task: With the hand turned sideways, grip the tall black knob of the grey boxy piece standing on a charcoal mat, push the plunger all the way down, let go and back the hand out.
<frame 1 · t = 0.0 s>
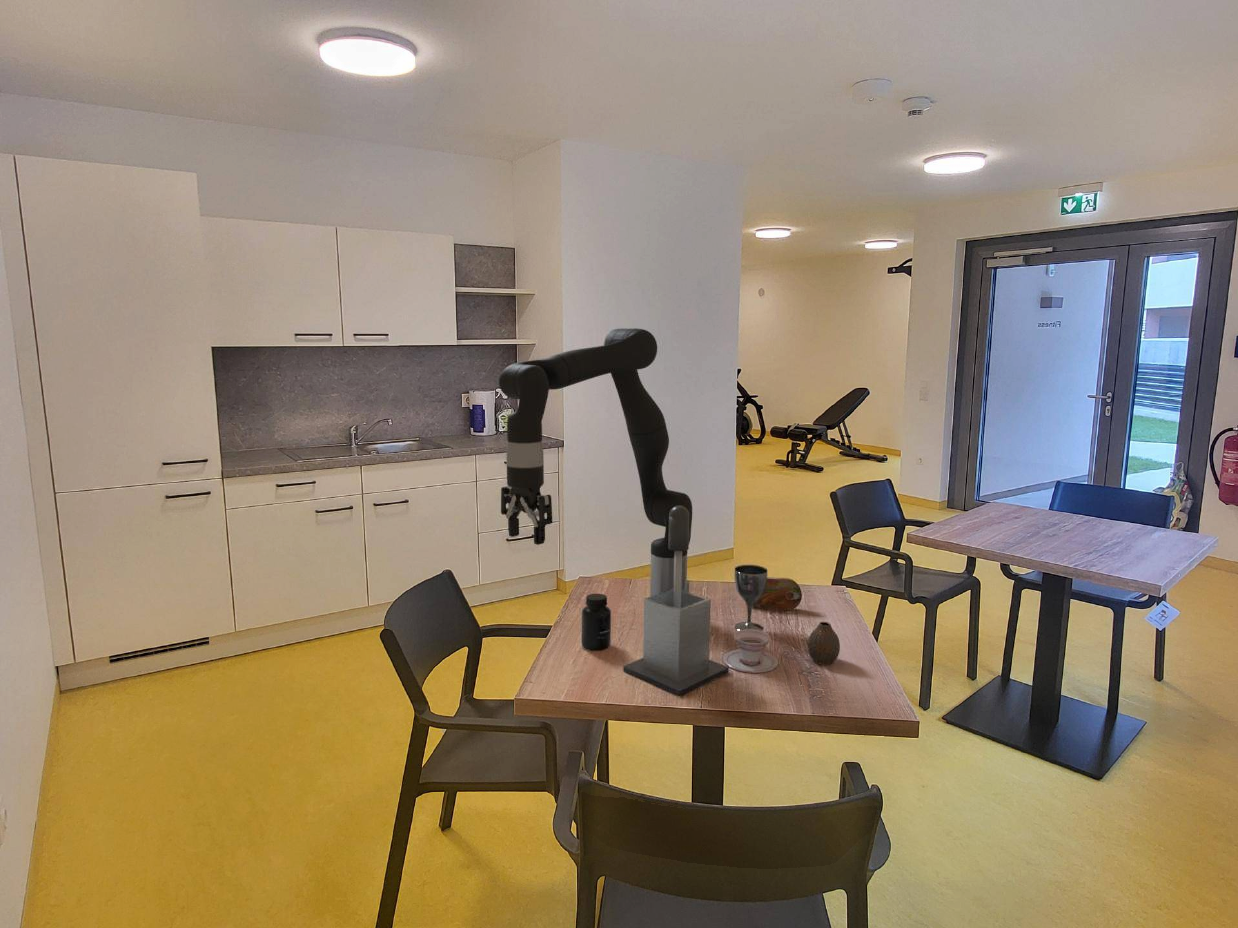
hand: (526, 539, 157), 29 cm above the table, tool pointing down, fingers open, 8 cm apart
vase: (822, 661, 168), on the table
supplement bottle: (596, 646, 176), on the table
plunger: (678, 563, 158), point 24 cm above the table, slide at 0.0 cm
grey boxy piece: (675, 671, 162), on the table
teacup: (750, 663, 168), on the table
wine glass: (748, 628, 187), on the table
tin: (772, 608, 201), on the table
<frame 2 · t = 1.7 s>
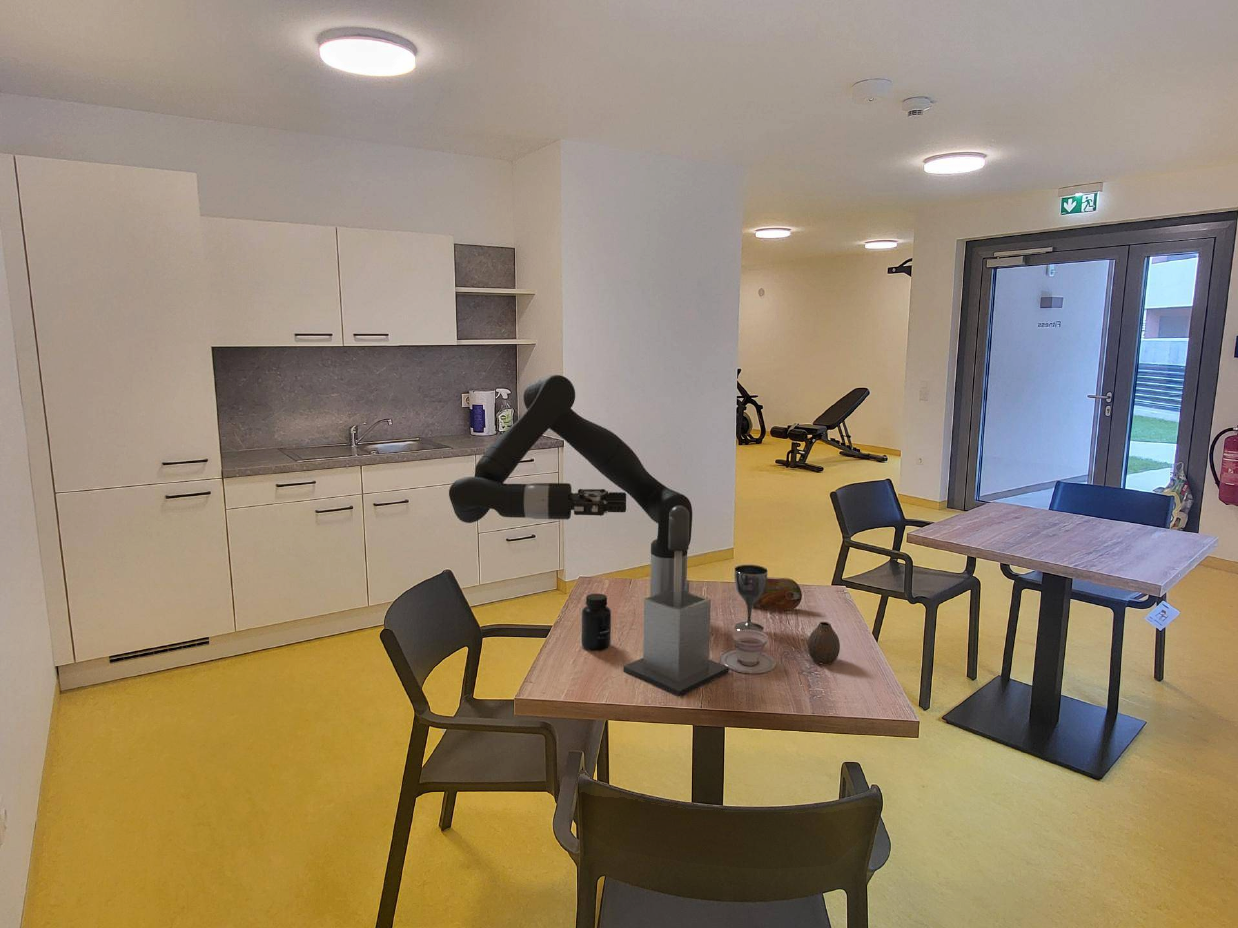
hand: (626, 502, 156), 37 cm above the table, tool horizontal, fingers open, 8 cm apart
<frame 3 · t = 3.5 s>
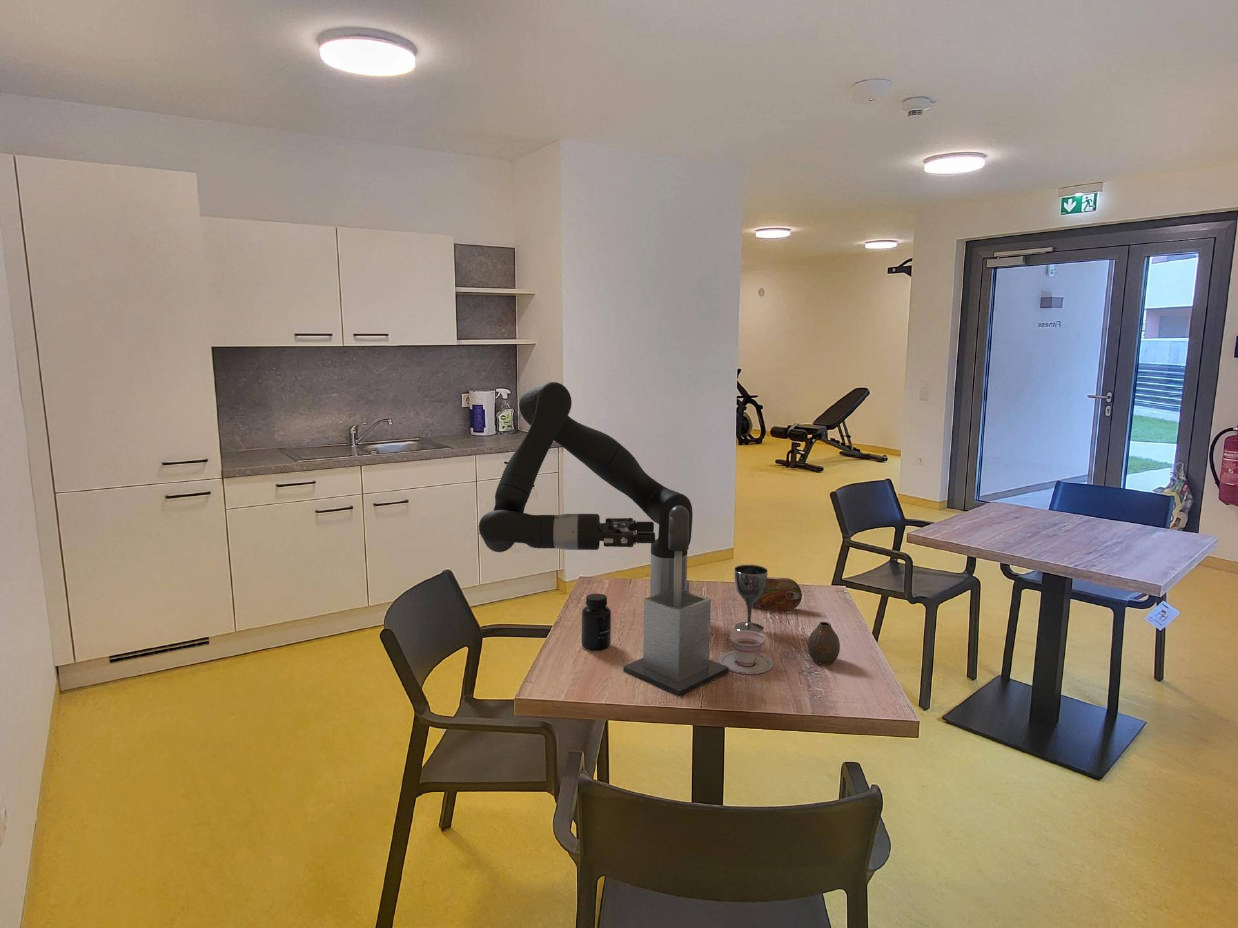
hand: (654, 532, 157), 31 cm above the table, tool horizontal, fingers open, 8 cm apart
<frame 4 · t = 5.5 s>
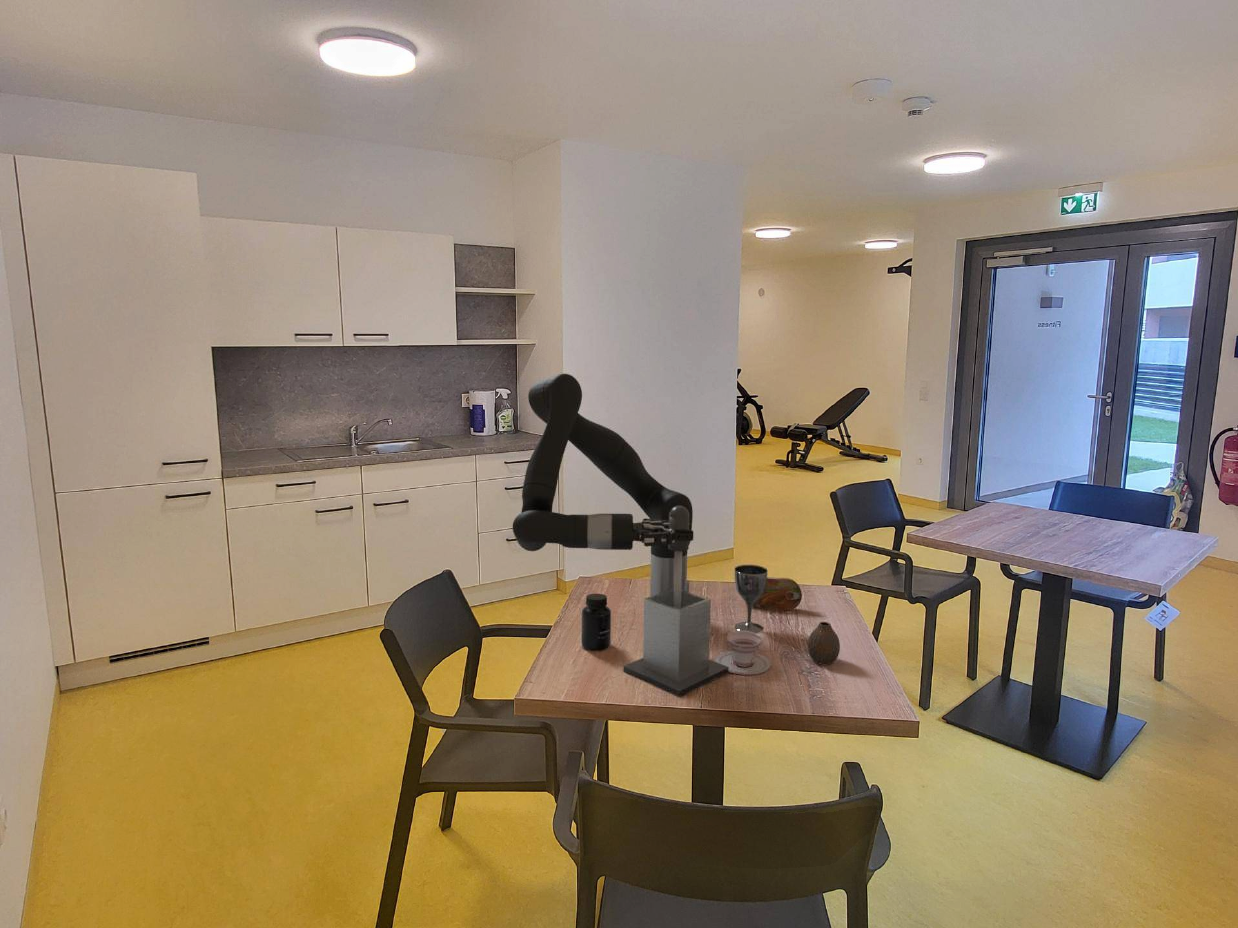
hand: (691, 532, 157), 31 cm above the table, tool horizontal, fingers closed on plunger, 4 cm apart
plunger: (678, 563, 158), point 24 cm above the table, slide at 0.0 cm, touching gripper
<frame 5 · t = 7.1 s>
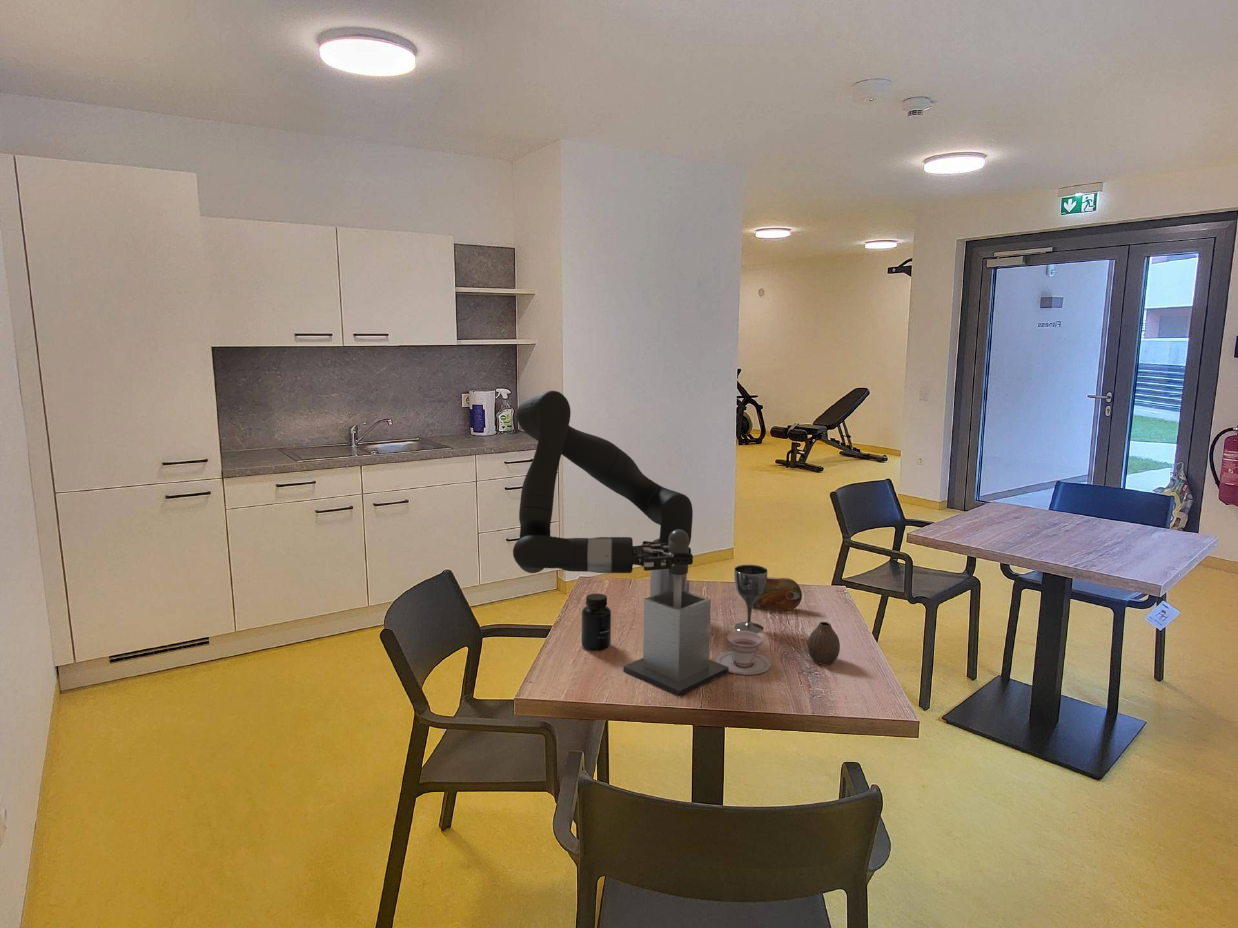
hand: (691, 555, 158), 26 cm above the table, tool horizontal, fingers closed on plunger, 4 cm apart
plunger: (677, 586, 159), point 19 cm above the table, slide at 5.1 cm, touching gripper
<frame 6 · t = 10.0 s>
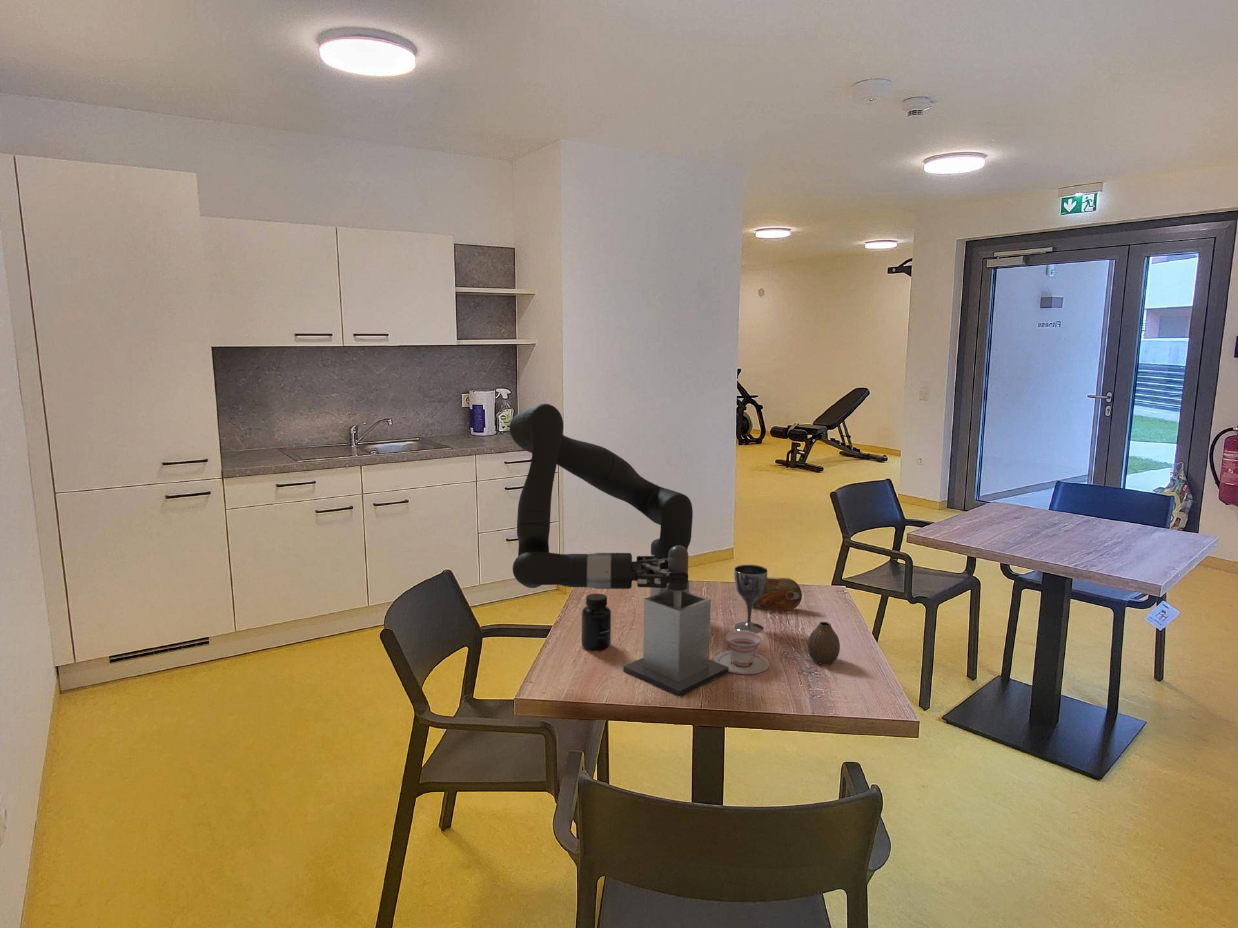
hand: (686, 571, 158), 22 cm above the table, tool horizontal, fingers open, 8 cm apart
plunger: (677, 602, 160), point 16 cm above the table, slide at 8.5 cm
teacup: (741, 664, 167), on the table, touching grey boxy piece
everything else where it was.
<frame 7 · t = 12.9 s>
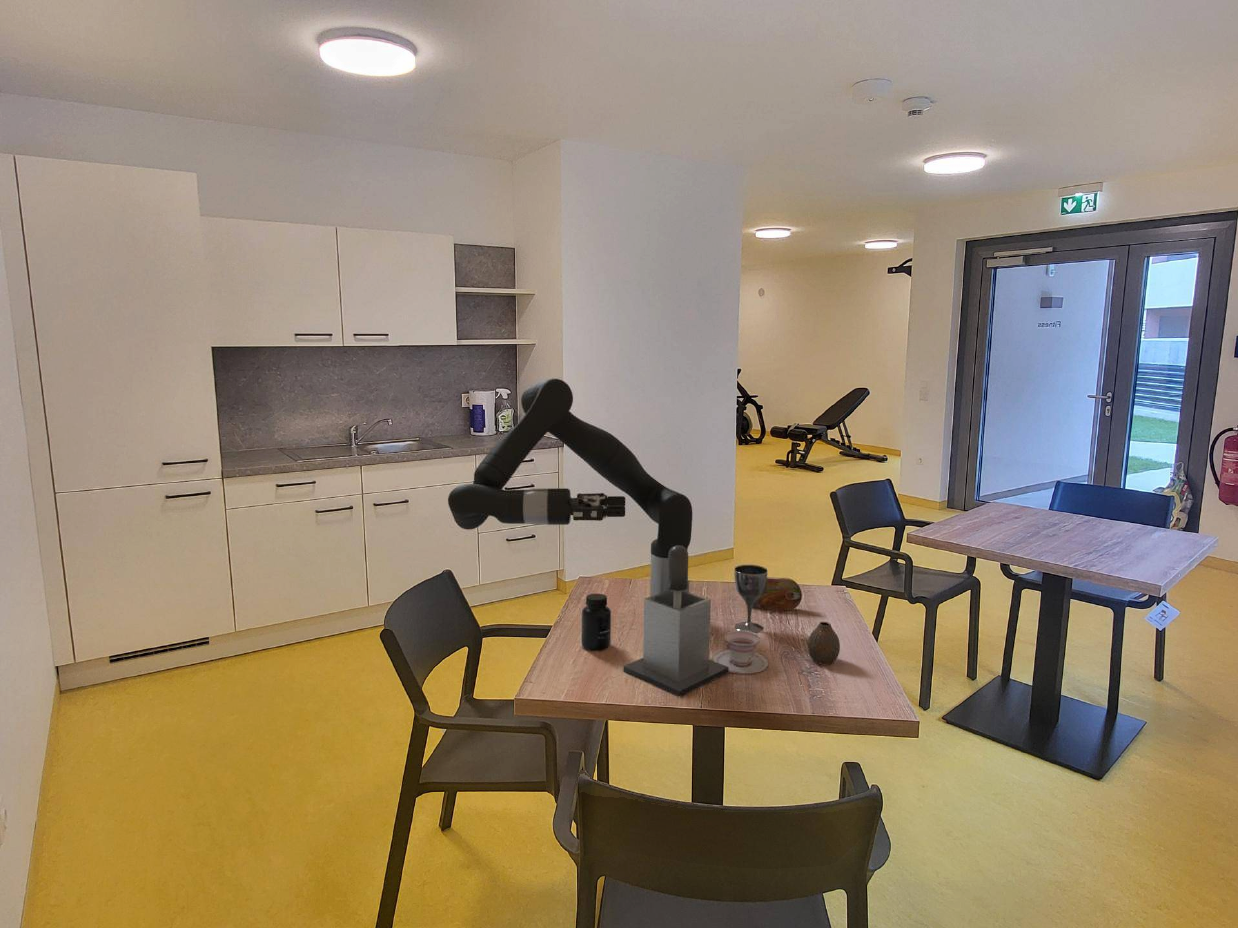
hand: (625, 506, 156), 36 cm above the table, tool horizontal, fingers open, 8 cm apart
teacup: (740, 664, 167), on the table
everything else where it was.
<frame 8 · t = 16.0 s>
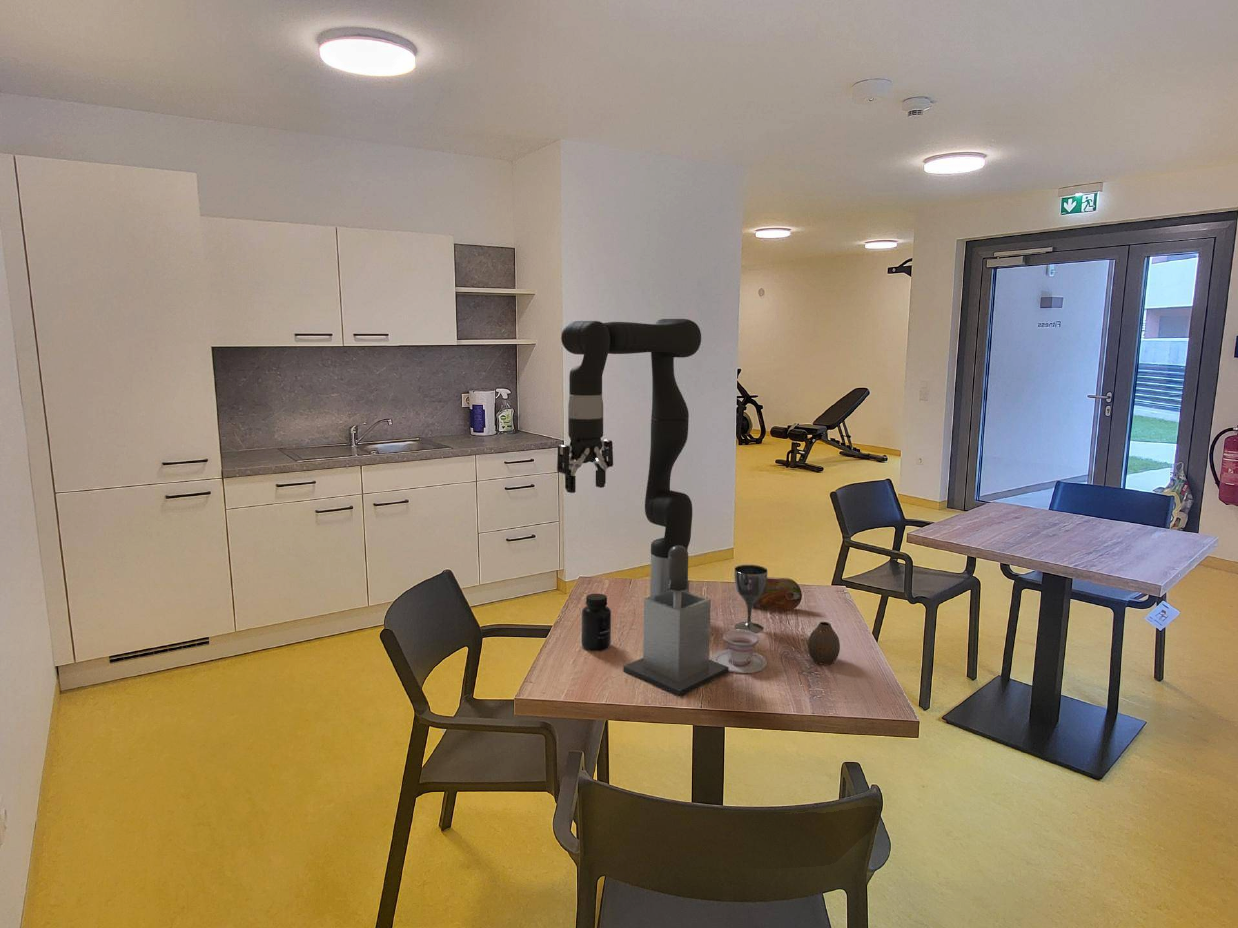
hand: (585, 489, 164), 38 cm above the table, tool pointing down, fingers open, 8 cm apart
at the end: plunger slide at 8.5 cm; the gripper is holding nothing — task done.
